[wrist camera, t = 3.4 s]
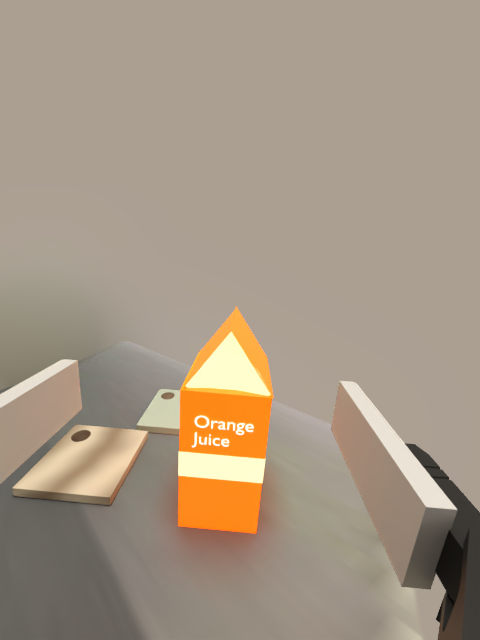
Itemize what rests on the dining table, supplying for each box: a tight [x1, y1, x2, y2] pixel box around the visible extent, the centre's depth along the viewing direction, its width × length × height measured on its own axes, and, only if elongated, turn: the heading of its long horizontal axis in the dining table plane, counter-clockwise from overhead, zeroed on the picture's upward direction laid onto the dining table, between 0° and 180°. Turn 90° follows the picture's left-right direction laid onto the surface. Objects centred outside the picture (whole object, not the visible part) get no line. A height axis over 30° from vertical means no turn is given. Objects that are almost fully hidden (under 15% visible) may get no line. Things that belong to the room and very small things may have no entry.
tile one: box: [12, 425, 148, 505], centre depth 31 cm, size 10×10×1 cm
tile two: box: [136, 389, 180, 435], centre depth 42 cm, size 10×10×1 cm
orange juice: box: [178, 307, 273, 533], centre depth 27 cm, size 8×9×20 cm
